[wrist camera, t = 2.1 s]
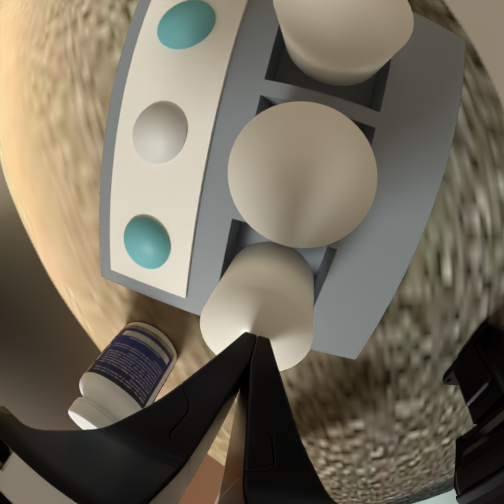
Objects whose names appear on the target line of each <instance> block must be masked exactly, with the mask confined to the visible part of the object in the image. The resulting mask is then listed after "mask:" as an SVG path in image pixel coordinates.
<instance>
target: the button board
mask: <svg viewBox="0 0 504 504" xmlns="http://www.w3.org/2000/svg"><path fill="white" fill-rule="evenodd" d="M412 12H413V11H412ZM413 18H414V27H413V32H412V34H411V37H410V39H409V40H408V41H407V43H406V44H405V45H404V46H403V47H402V48H401V49H400V50H399V51H398V52H397V53H396V54H395V55H394V56H393V57H392V58H390V59H389V60H388V61H387V62H386V63H385V64H384V65H383V66H382V67H381V68H380V69H379V70H378V71H377V72H376V73H375V74H374V75H373V76H372V77H371V78H369V79H368V80H366V81H364V82H362V83H359V84H355V85H350V86H336V85H330V84H326V83H323V82H320V81H317V80H315V79H313V78H311V77H310V76H308V75H306V74H305V73H304V72H302V71H301V70H300V69H299V68H298V67H297V66H296V65H295V64H294V62H293V61H292V59H291V58H290V56H289V54H288V52H287V48H286V45H285V41H284V38H283V34H282V31H281V28H280V24H279V21H278V18H277V14H276V11H275V8H274V4H273V0H139V2H138V5H137V8H136V10H135V13H134V16H133V18H132V21H131V24H130V27H129V30H128V33H127V36H126V39H125V43H124V46H123V49H122V53H121V57H120V60H119V64H118V68H117V72H116V76H115V81H114V85H113V90H112V95H111V100H110V106H109V111H108V117H107V124H106V131H105V138H104V147H103V156H102V168H101V182H100V208H99V234H100V261H101V275H102V277H104V278H106V279H108V280H110V281H113V282H115V283H117V284H120V285H122V286H124V287H127V288H129V289H131V290H134V291H136V292H139V293H141V294H144V295H146V296H149V297H151V298H154V299H156V300H159V301H161V302H164V303H166V304H169V305H172V306H174V307H177V308H180V309H182V310H185V311H188V312H191V313H193V314H196V315H199V316H201V312H202V310H203V308H204V306H205V304H206V303H207V301H208V299H209V298H210V296H211V295H212V293H213V291H214V290H215V288H216V286H217V285H218V283H219V282H220V280H221V278H222V277H223V275H224V274H225V272H226V270H227V269H228V267H229V266H230V264H231V262H232V261H233V259H234V258H235V256H236V255H237V254H238V253H239V252H240V251H241V250H243V249H244V248H246V247H247V246H250V245H252V244H255V243H259V242H273V241H271V240H269V239H267V238H265V237H264V236H262V235H261V234H259V233H258V232H257V231H255V230H254V229H253V228H252V227H251V226H250V225H249V224H248V223H247V222H246V221H245V220H244V218H243V217H242V215H241V214H240V213H239V211H238V209H237V207H236V206H235V204H234V201H233V199H232V196H231V193H230V189H229V183H228V162H229V157H230V153H231V150H232V147H233V145H234V142H235V140H236V138H237V137H238V135H239V133H240V132H241V131H242V129H243V128H244V127H245V126H246V124H247V123H248V122H250V121H251V120H252V119H253V118H254V117H255V116H257V115H258V114H260V113H261V112H263V111H265V110H266V109H268V108H270V107H273V106H276V105H279V104H282V103H287V102H296V101H305V102H314V103H318V104H322V105H325V106H328V107H331V108H333V109H335V110H337V111H339V112H341V113H342V114H343V115H345V116H346V117H348V118H349V119H350V120H351V121H352V122H353V123H355V124H356V125H357V126H358V128H359V129H360V130H361V131H362V133H363V134H364V135H365V137H366V139H367V140H368V142H369V144H370V146H371V148H372V151H373V153H374V157H375V160H376V166H377V188H376V193H375V197H374V200H373V203H372V205H371V208H370V210H369V211H368V213H367V215H366V217H365V218H364V219H363V220H362V222H361V223H360V224H359V225H358V226H357V227H356V228H355V229H354V230H353V231H352V232H351V233H349V234H348V235H347V236H345V237H343V238H342V239H340V240H338V241H336V242H334V243H331V244H329V245H325V246H321V247H315V248H294V247H291V248H293V249H295V250H296V251H298V252H299V253H300V254H301V255H302V256H303V257H304V258H305V259H306V260H307V262H308V264H309V265H310V267H311V270H312V273H313V278H314V307H313V340H312V345H311V347H310V349H312V350H316V351H320V352H324V353H328V354H332V355H337V356H341V357H345V358H350V359H355V360H356V358H357V356H358V355H359V353H360V352H361V350H362V349H363V347H364V346H365V344H366V343H367V341H368V339H369V338H370V336H371V334H372V333H373V331H374V329H375V328H376V326H377V324H378V323H379V321H380V319H381V318H382V316H383V314H384V312H385V310H386V309H387V307H388V305H389V303H390V301H391V299H392V298H393V296H394V294H395V292H396V290H397V288H398V286H399V284H400V282H401V280H402V278H403V276H404V274H405V272H406V270H407V268H408V266H409V263H410V261H411V259H412V257H413V255H414V252H415V250H416V248H417V246H418V243H419V241H420V238H421V236H422V234H423V231H424V229H425V226H426V224H427V221H428V218H429V216H430V213H431V210H432V208H433V205H434V202H435V199H436V196H437V193H438V190H439V187H440V184H441V181H442V178H443V174H444V171H445V167H446V164H447V160H448V157H449V153H450V149H451V145H452V141H453V136H454V132H455V127H456V122H457V117H458V112H459V106H460V100H461V93H462V86H463V77H464V67H465V53H466V41H465V40H464V39H462V38H461V37H459V36H457V35H456V34H454V33H453V32H451V31H449V30H447V29H446V28H444V27H442V26H440V25H439V24H437V23H435V22H433V21H431V20H429V19H427V18H425V17H423V16H421V15H419V14H417V13H415V12H413Z"/></svg>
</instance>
